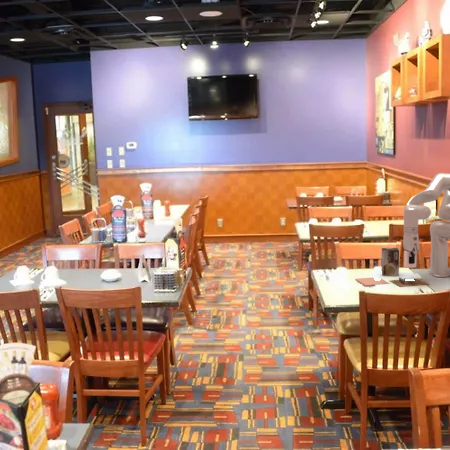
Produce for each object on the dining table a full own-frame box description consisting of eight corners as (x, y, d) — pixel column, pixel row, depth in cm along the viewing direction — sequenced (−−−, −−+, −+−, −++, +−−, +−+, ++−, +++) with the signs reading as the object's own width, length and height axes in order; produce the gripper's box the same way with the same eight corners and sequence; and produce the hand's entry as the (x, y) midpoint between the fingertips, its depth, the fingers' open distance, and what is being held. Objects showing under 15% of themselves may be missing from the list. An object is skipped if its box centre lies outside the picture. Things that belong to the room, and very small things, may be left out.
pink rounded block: (413, 265, 334) (414, 249, 332) (416, 267, 331) (416, 251, 329) (403, 266, 333) (403, 250, 331) (406, 267, 330) (406, 251, 328)
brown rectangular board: (417, 279, 342) (417, 274, 341) (430, 286, 328) (430, 280, 328) (388, 282, 338) (388, 276, 338) (399, 288, 325) (400, 282, 324)
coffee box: (396, 274, 354) (397, 247, 351) (398, 277, 348) (399, 250, 345) (380, 274, 355) (381, 247, 352) (382, 277, 349) (383, 249, 346)
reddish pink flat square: (378, 278, 346) (378, 277, 346) (389, 285, 332) (389, 283, 332) (355, 280, 343) (355, 278, 343) (365, 286, 330) (365, 285, 329)
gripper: (424, 232, 321) (424, 265, 324) (409, 226, 337) (409, 259, 340) (411, 233, 320) (411, 266, 323) (397, 227, 335) (396, 260, 339)
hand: (410, 262), depth 331 cm, fingers closed on pink rounded block, 2 cm apart
